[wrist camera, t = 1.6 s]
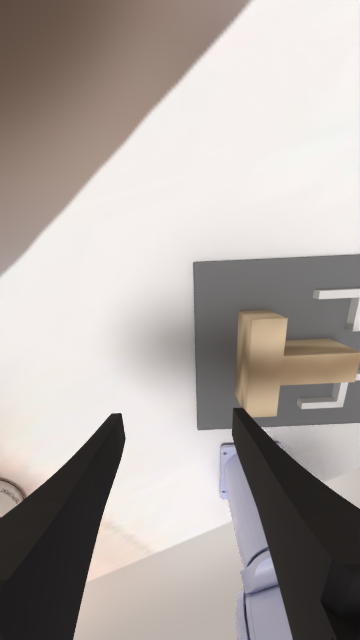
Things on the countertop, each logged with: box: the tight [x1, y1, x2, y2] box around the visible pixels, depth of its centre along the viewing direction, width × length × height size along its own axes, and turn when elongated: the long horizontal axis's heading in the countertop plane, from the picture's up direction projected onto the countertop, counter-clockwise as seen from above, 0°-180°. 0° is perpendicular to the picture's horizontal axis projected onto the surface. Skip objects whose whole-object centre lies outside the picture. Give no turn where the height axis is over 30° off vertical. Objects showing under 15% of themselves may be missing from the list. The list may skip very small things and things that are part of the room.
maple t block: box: [235, 310, 360, 417], centre depth 18 cm, size 10×10×4 cm
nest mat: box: [193, 255, 360, 430], centre depth 20 cm, size 20×24×1 cm
